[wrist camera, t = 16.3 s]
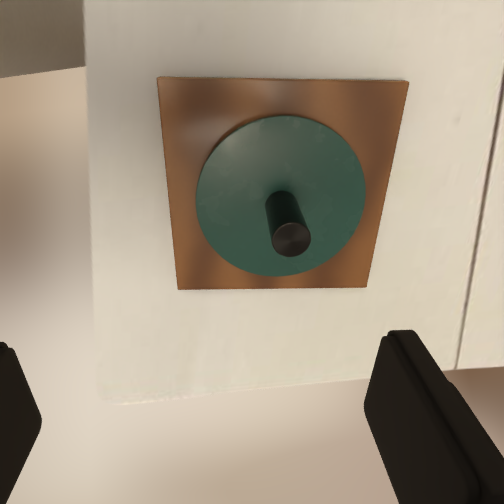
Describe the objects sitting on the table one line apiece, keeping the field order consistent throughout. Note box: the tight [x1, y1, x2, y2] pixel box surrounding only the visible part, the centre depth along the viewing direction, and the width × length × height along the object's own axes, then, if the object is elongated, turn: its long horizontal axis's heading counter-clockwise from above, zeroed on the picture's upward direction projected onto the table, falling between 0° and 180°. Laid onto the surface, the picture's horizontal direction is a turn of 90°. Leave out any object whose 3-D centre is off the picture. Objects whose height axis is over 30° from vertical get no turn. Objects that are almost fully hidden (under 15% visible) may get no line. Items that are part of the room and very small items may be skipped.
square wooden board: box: [157, 77, 409, 290], centre depth 31 cm, size 18×18×1 cm
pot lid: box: [196, 115, 366, 277], centre depth 27 cm, size 14×14×7 cm
